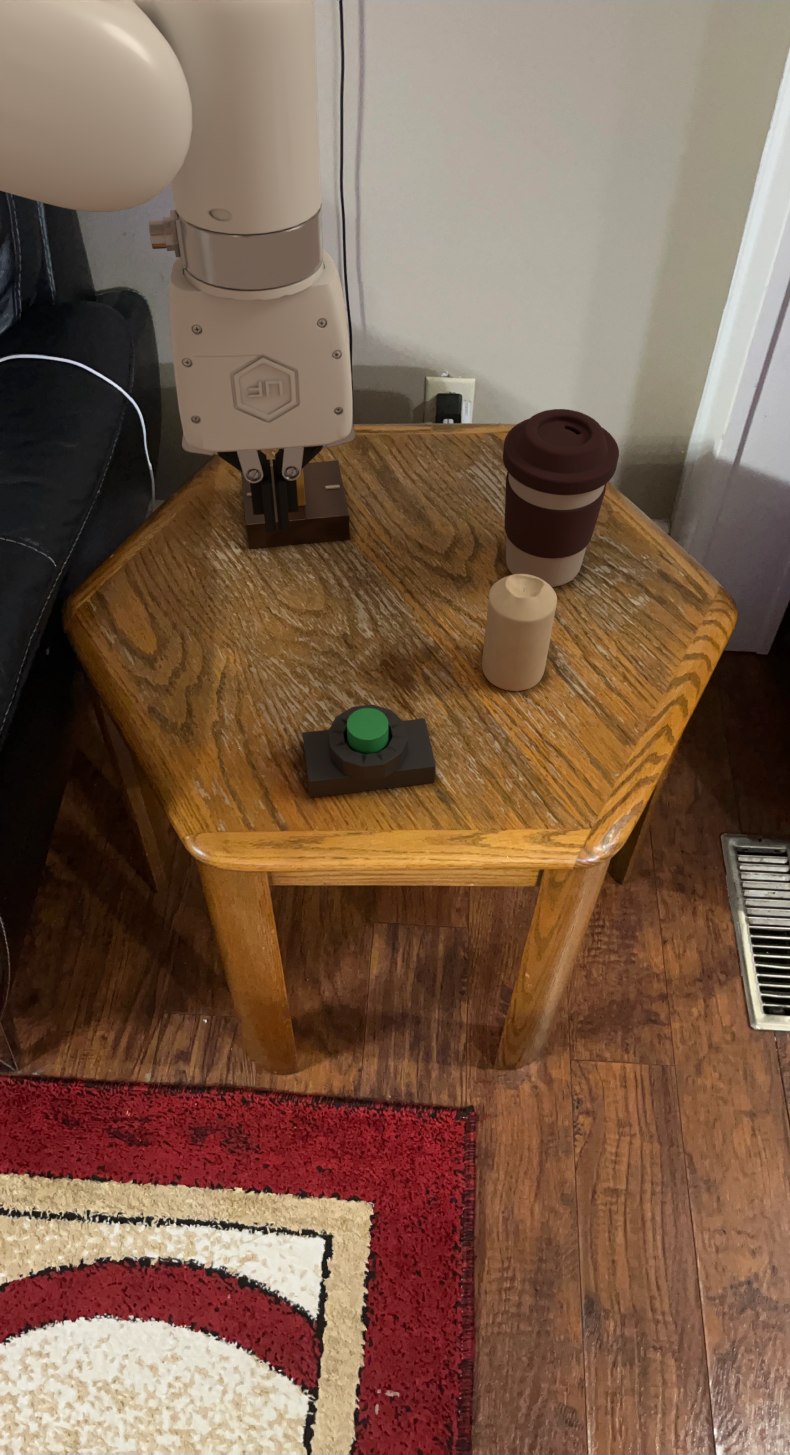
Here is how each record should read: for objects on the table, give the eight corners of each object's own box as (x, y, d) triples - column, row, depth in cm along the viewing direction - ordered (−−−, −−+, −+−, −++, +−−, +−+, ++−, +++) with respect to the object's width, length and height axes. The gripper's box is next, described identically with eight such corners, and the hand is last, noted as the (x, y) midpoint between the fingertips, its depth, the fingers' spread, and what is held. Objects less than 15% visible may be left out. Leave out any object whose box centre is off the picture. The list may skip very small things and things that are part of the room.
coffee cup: (509, 607, 91) (527, 472, 79) (478, 539, 97) (491, 405, 85) (609, 590, 92) (641, 455, 81) (573, 525, 98) (597, 391, 87)
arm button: (350, 756, 75) (349, 742, 74) (345, 724, 77) (344, 710, 76) (391, 751, 75) (391, 737, 74) (385, 719, 77) (385, 705, 76)
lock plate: (249, 548, 96) (245, 523, 94) (243, 492, 102) (240, 467, 99) (350, 539, 97) (349, 513, 94) (339, 484, 103) (338, 458, 100)
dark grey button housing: (310, 803, 77) (307, 773, 74) (303, 743, 80) (300, 712, 77) (436, 788, 78) (438, 757, 75) (423, 729, 81) (424, 698, 78)
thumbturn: (305, 505, 95) (302, 460, 91) (285, 507, 95) (280, 462, 91) (301, 474, 99) (297, 429, 95) (281, 476, 98) (276, 431, 94)
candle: (544, 648, 88) (559, 563, 80) (544, 694, 84) (559, 609, 76) (482, 644, 88) (491, 558, 80) (480, 689, 84) (489, 604, 77)
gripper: (104, 280, 49) (163, 564, 63) (401, 267, 50) (394, 547, 64) (110, 215, 53) (164, 492, 67) (382, 205, 55) (379, 478, 69)
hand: (276, 518), depth 66 cm, fingers closed
